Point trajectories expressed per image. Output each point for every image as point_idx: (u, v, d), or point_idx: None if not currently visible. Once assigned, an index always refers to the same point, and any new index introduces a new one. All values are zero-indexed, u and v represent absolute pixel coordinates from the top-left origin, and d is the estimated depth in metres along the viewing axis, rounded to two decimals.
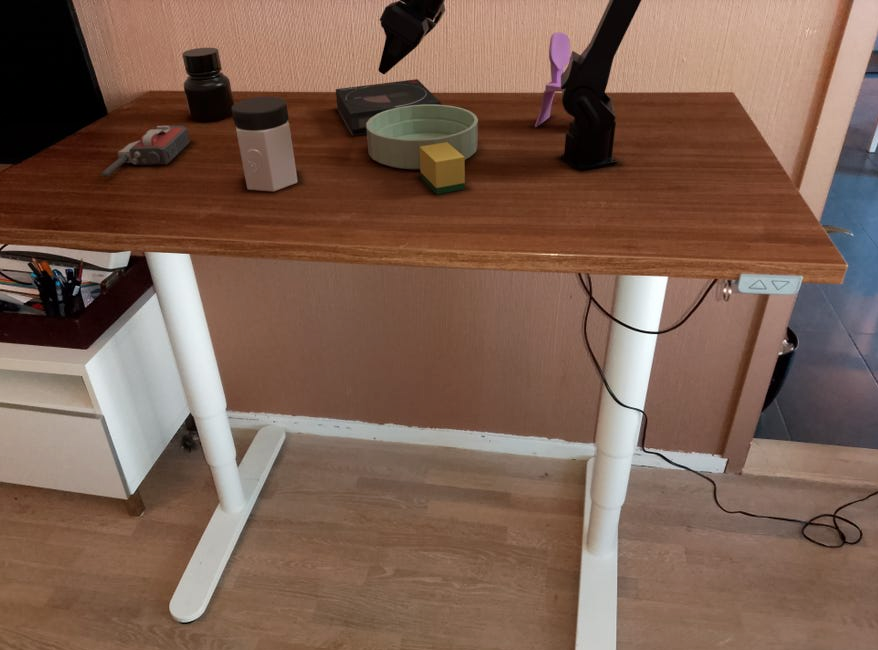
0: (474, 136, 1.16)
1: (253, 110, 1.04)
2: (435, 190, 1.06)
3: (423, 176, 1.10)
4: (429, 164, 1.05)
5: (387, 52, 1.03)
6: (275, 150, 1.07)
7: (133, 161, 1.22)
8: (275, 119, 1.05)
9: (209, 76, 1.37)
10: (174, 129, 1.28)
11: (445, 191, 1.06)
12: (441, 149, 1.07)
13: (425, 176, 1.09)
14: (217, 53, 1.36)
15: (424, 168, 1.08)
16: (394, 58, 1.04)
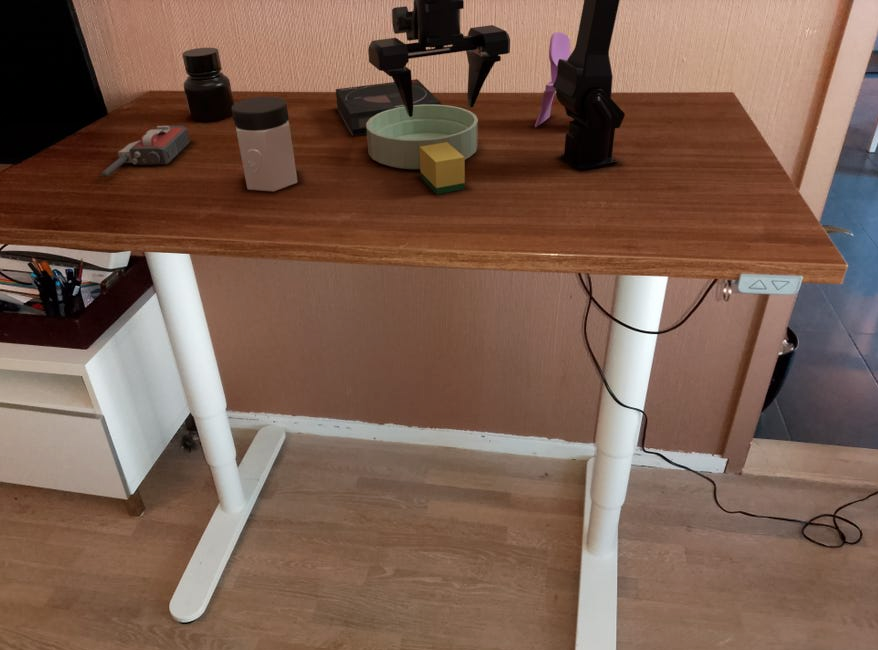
0: (474, 136, 1.16)
1: (253, 110, 1.04)
2: (435, 190, 1.06)
3: (423, 176, 1.10)
4: (429, 164, 1.05)
5: (401, 92, 1.00)
6: (275, 150, 1.07)
7: (133, 161, 1.22)
8: (275, 119, 1.05)
9: (209, 76, 1.37)
10: (174, 129, 1.28)
11: (445, 191, 1.06)
12: (441, 149, 1.07)
13: (425, 176, 1.09)
14: (217, 53, 1.36)
15: (424, 168, 1.08)
16: (404, 96, 0.99)
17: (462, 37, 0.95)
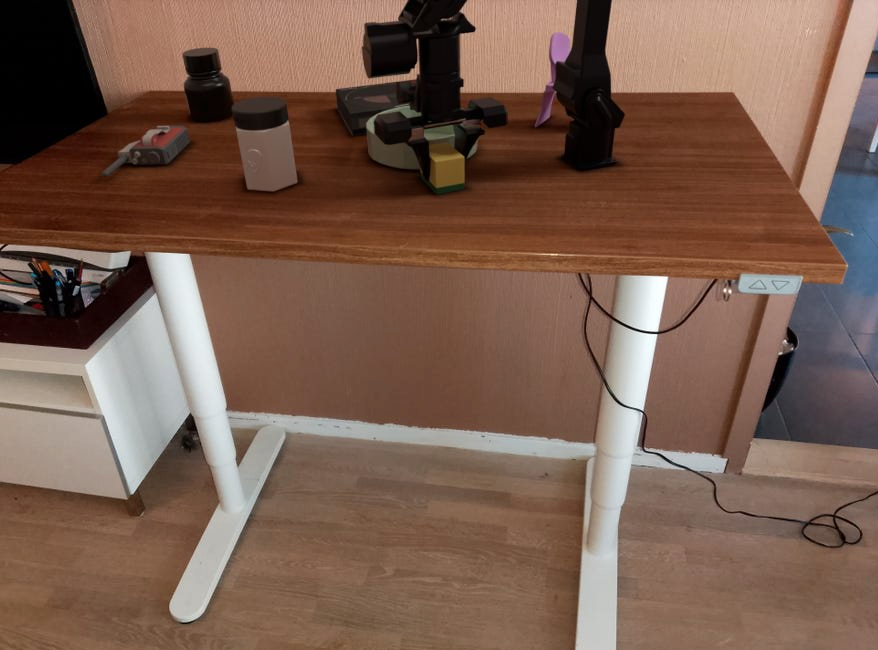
0: None
1: (253, 110, 1.04)
2: (435, 190, 1.06)
3: (423, 176, 1.10)
4: None
5: (419, 159, 1.06)
6: (275, 150, 1.07)
7: (133, 161, 1.22)
8: (275, 119, 1.05)
9: (209, 76, 1.37)
10: (174, 129, 1.28)
11: (445, 191, 1.06)
12: (441, 149, 1.07)
13: None
14: (217, 53, 1.36)
15: None
16: (422, 162, 1.05)
17: (462, 112, 1.01)
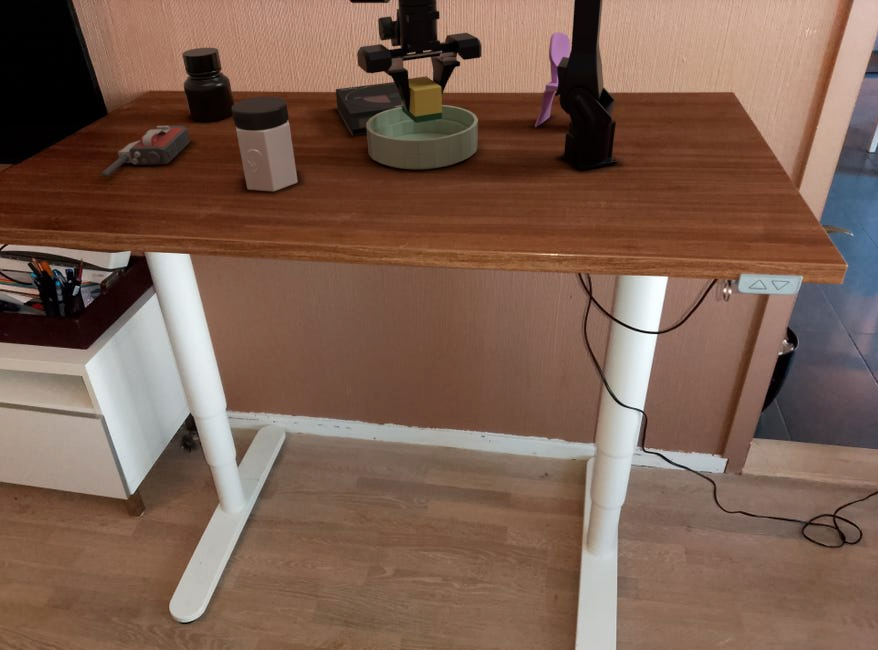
0: (474, 136, 1.16)
1: (253, 110, 1.04)
2: (414, 119, 1.14)
3: (404, 108, 1.18)
4: None
5: (399, 90, 1.14)
6: (275, 150, 1.07)
7: (133, 161, 1.22)
8: (275, 119, 1.05)
9: (209, 76, 1.37)
10: (174, 129, 1.28)
11: (424, 120, 1.14)
12: (420, 81, 1.15)
13: None
14: (217, 53, 1.36)
15: None
16: (402, 93, 1.13)
17: (439, 43, 1.09)
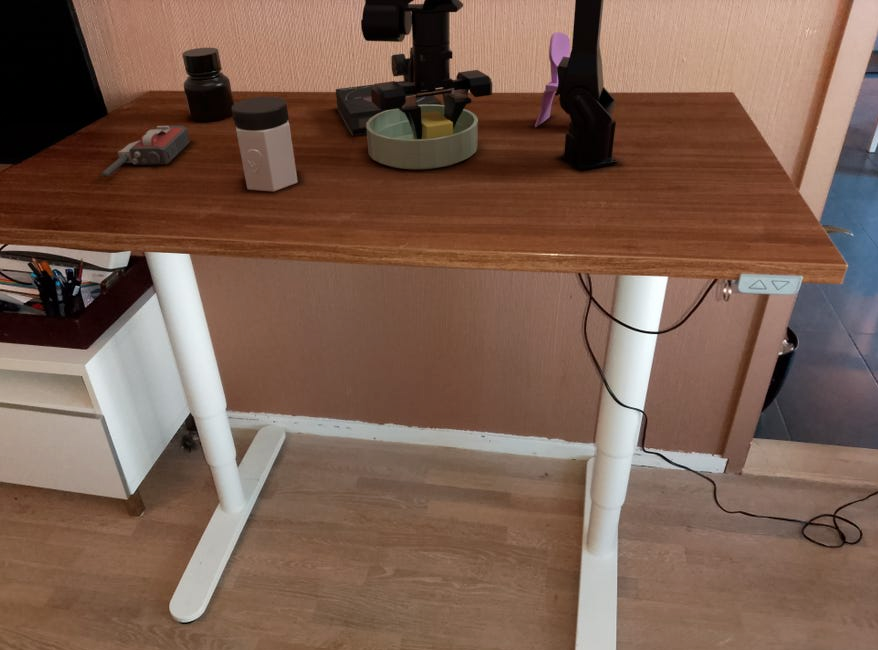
0: (474, 136, 1.16)
1: (253, 110, 1.04)
2: None
3: None
4: None
5: (411, 125, 1.17)
6: (275, 150, 1.07)
7: (133, 161, 1.22)
8: (275, 119, 1.05)
9: (209, 76, 1.37)
10: (174, 129, 1.28)
11: None
12: (432, 116, 1.18)
13: None
14: (217, 53, 1.36)
15: None
16: (414, 128, 1.16)
17: (451, 82, 1.12)
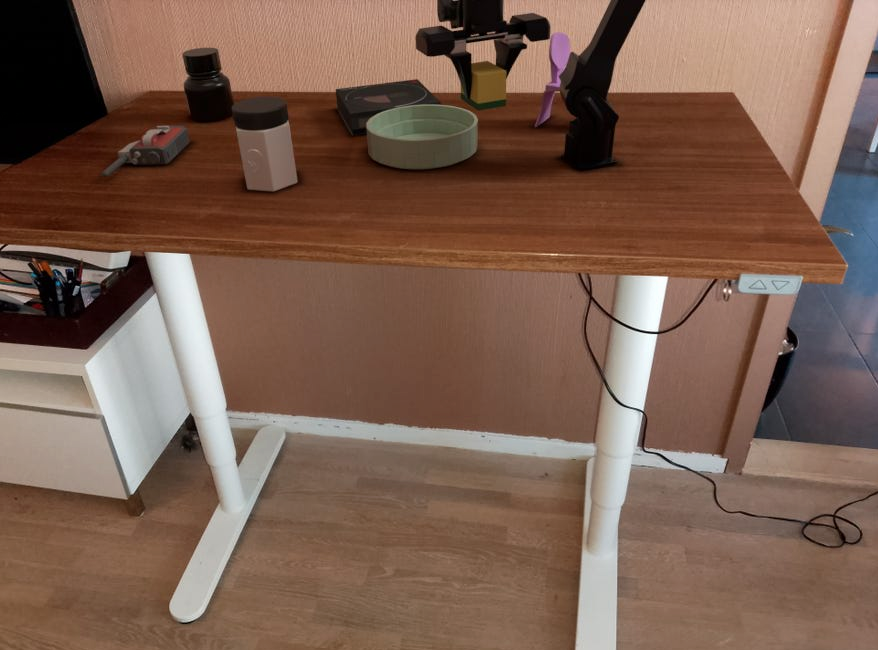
0: (474, 136, 1.16)
1: (253, 110, 1.04)
2: (476, 106, 1.05)
3: (463, 96, 1.09)
4: None
5: (460, 75, 1.06)
6: (275, 150, 1.07)
7: (133, 161, 1.22)
8: (276, 119, 1.05)
9: (209, 76, 1.37)
10: (174, 129, 1.28)
11: (486, 107, 1.05)
12: (482, 66, 1.06)
13: None
14: (217, 53, 1.36)
15: None
16: (463, 78, 1.05)
17: (505, 24, 1.00)
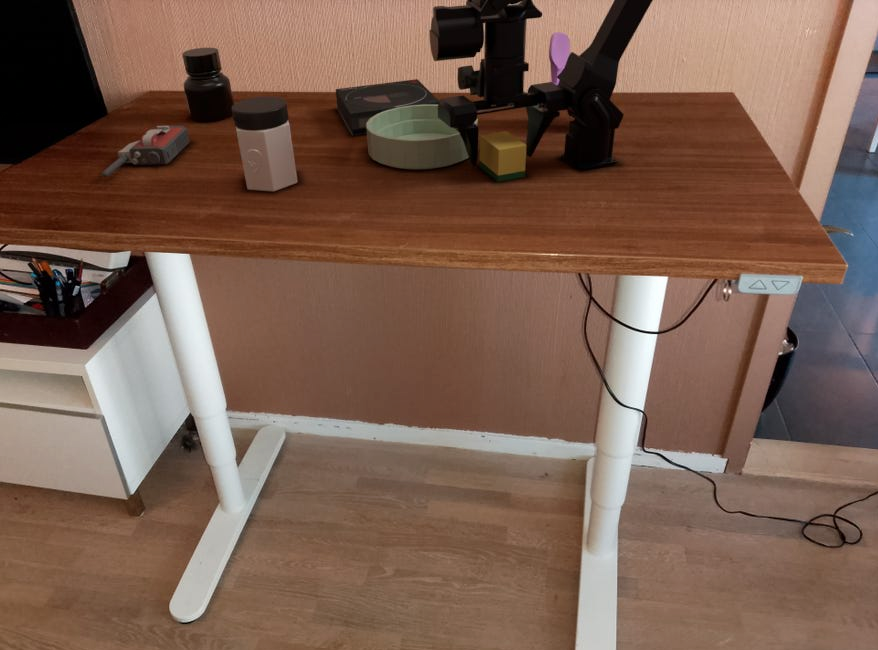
0: None
1: (253, 110, 1.04)
2: (496, 178, 1.08)
3: (483, 165, 1.12)
4: (491, 152, 1.08)
5: (466, 145, 1.08)
6: (275, 150, 1.07)
7: (133, 161, 1.22)
8: (275, 119, 1.05)
9: (209, 76, 1.37)
10: (174, 129, 1.28)
11: (506, 179, 1.08)
12: (502, 138, 1.09)
13: (485, 164, 1.11)
14: (217, 53, 1.36)
15: (485, 156, 1.11)
16: (470, 148, 1.07)
17: (526, 96, 1.03)
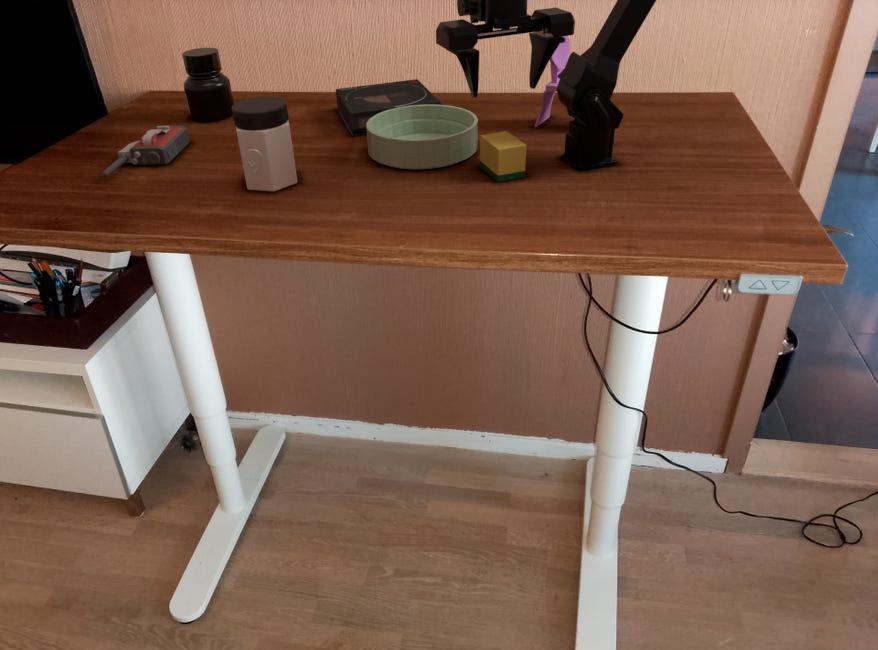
0: (474, 136, 1.16)
1: (253, 110, 1.04)
2: (496, 178, 1.08)
3: (483, 165, 1.12)
4: (491, 152, 1.08)
5: (466, 73, 1.02)
6: (275, 150, 1.07)
7: (133, 161, 1.22)
8: (275, 119, 1.05)
9: (209, 76, 1.37)
10: (174, 129, 1.28)
11: (506, 179, 1.08)
12: (502, 138, 1.09)
13: (485, 164, 1.11)
14: (217, 53, 1.36)
15: (485, 156, 1.11)
16: (470, 76, 1.01)
17: (529, 18, 0.97)
